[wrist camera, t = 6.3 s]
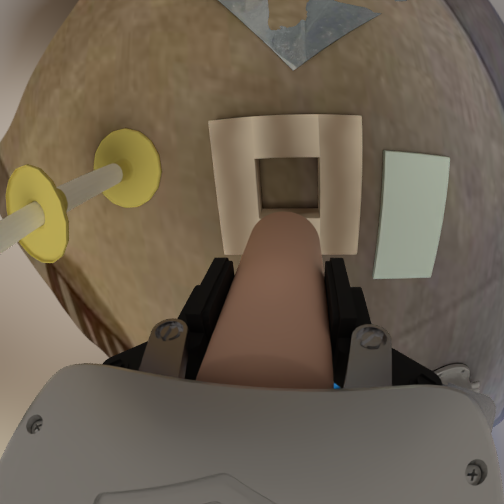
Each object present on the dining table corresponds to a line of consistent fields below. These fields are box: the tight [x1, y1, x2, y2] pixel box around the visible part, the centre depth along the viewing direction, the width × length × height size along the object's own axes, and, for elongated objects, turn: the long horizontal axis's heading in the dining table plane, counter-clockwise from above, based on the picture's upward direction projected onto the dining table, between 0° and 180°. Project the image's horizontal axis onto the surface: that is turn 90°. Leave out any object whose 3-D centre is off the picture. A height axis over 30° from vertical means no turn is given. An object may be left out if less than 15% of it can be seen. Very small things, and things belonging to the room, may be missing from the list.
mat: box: [372, 150, 450, 279], centre depth 28 cm, size 8×15×1 cm, turn 5°
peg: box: [196, 211, 334, 389], centre depth 12 cm, size 4×4×10 cm
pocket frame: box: [208, 114, 362, 255], centre depth 28 cm, size 14×14×3 cm
